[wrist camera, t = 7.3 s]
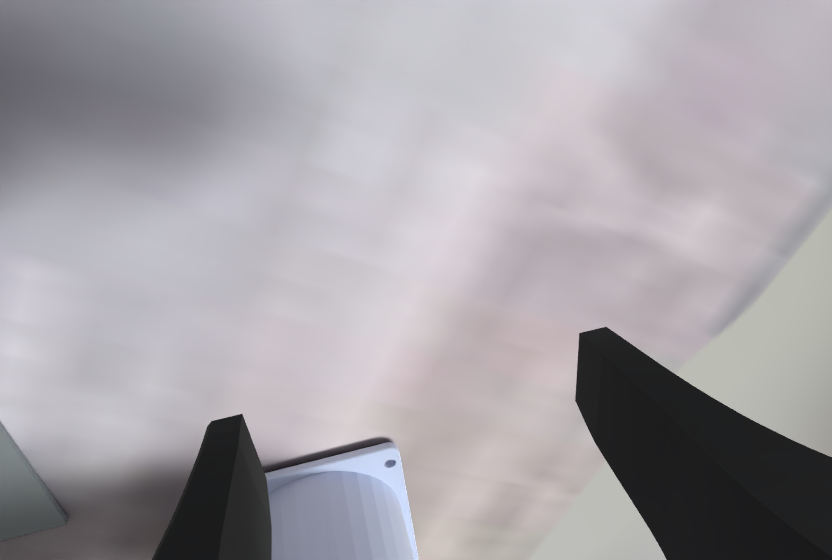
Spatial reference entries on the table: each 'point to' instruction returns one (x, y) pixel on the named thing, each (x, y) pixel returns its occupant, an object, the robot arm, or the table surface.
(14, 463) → the slate mat
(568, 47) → the table surface
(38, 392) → the table surface
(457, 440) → the table surface
